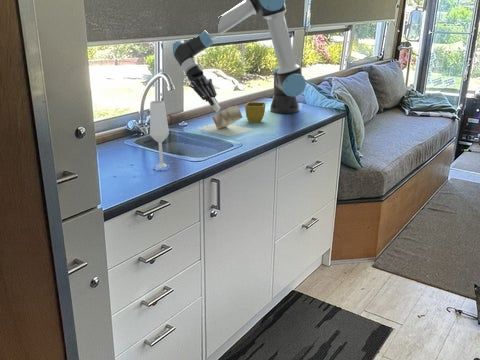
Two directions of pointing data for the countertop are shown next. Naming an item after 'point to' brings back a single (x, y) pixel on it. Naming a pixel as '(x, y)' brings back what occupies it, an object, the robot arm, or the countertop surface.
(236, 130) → the mat
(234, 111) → the maple block
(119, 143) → the countertop surface
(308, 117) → the countertop surface
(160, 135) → the champagne flute
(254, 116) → the flower pot
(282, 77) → the robot arm
